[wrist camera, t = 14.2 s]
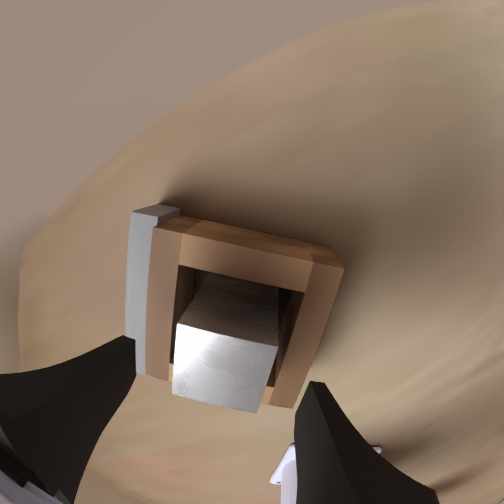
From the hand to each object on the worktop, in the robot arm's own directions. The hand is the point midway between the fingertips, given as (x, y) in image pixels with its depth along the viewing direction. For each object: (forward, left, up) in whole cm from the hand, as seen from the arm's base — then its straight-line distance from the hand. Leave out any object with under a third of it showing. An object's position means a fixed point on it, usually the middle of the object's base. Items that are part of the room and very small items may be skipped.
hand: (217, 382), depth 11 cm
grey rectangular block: (0, 0, -8) cm, 8 cm away
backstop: (+5, 0, -8) cm, 9 cm away
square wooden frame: (0, 0, -8) cm, 8 cm away
